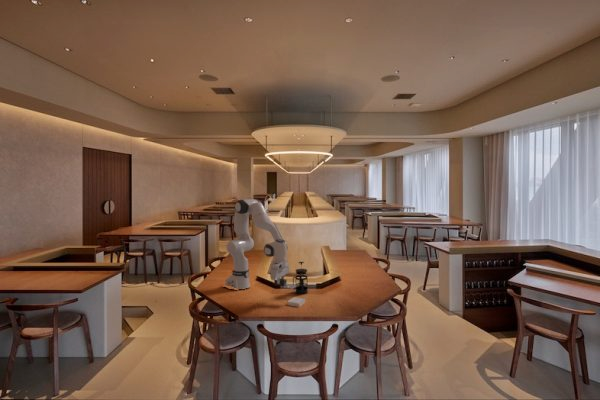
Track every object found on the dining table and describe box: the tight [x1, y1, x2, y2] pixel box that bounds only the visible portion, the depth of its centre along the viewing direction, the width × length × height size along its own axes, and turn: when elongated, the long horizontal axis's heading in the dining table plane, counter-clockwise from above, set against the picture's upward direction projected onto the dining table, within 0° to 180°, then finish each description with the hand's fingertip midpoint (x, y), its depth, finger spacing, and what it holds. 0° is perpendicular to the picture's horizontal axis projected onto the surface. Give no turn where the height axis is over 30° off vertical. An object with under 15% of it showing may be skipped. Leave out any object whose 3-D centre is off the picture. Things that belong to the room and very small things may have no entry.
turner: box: [273, 278, 298, 290], centre depth 214 cm, size 15×6×4 cm, turn 63°
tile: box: [286, 296, 306, 308], centre depth 210 cm, size 3×9×9 cm
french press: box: [292, 261, 309, 295], centre depth 232 cm, size 12×9×23 cm
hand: (280, 282), depth 215 cm, fingers closed on turner, 3 cm apart
